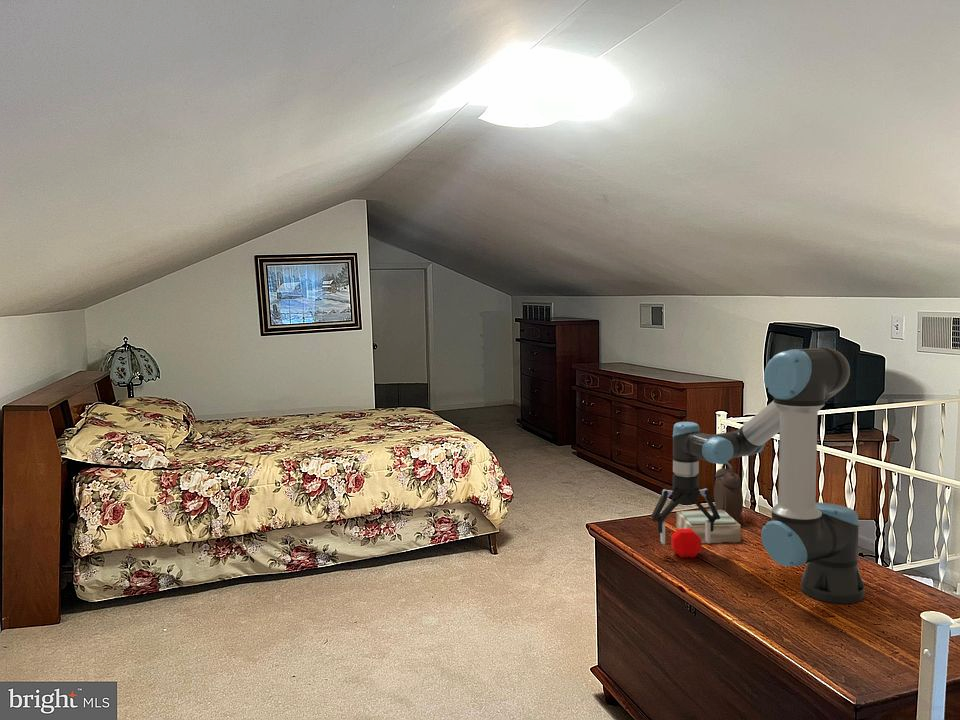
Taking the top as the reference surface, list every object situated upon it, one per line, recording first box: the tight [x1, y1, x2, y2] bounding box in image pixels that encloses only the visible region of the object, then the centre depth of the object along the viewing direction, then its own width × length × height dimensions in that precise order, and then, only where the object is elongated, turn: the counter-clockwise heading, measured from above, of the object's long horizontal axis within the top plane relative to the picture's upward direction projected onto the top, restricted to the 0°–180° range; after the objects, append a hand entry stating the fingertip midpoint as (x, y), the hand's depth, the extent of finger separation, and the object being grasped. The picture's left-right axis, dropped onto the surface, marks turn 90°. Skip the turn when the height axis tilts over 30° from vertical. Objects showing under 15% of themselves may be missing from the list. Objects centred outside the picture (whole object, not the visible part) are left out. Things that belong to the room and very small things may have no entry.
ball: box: [670, 528, 702, 558], centre depth 223 cm, size 8×8×8 cm
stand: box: [675, 509, 742, 544], centre depth 241 cm, size 16×16×6 cm
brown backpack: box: [713, 461, 744, 523], centre depth 256 cm, size 15×7×20 cm, turn 179°
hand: (685, 542), depth 224 cm, fingers open, 13 cm apart
